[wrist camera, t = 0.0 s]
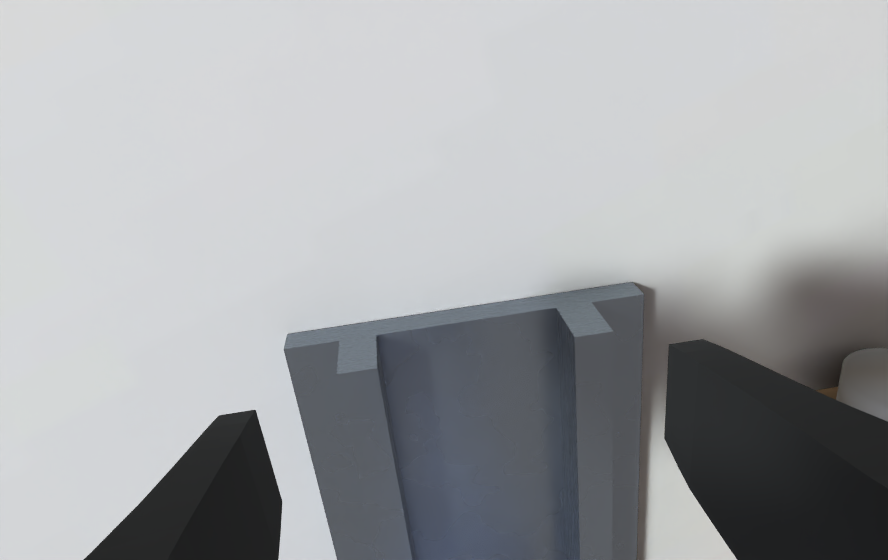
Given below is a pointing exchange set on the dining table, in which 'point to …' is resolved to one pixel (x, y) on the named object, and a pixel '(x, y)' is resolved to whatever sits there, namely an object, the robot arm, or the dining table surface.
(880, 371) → the block
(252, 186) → the dining table surface
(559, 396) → the cradle
